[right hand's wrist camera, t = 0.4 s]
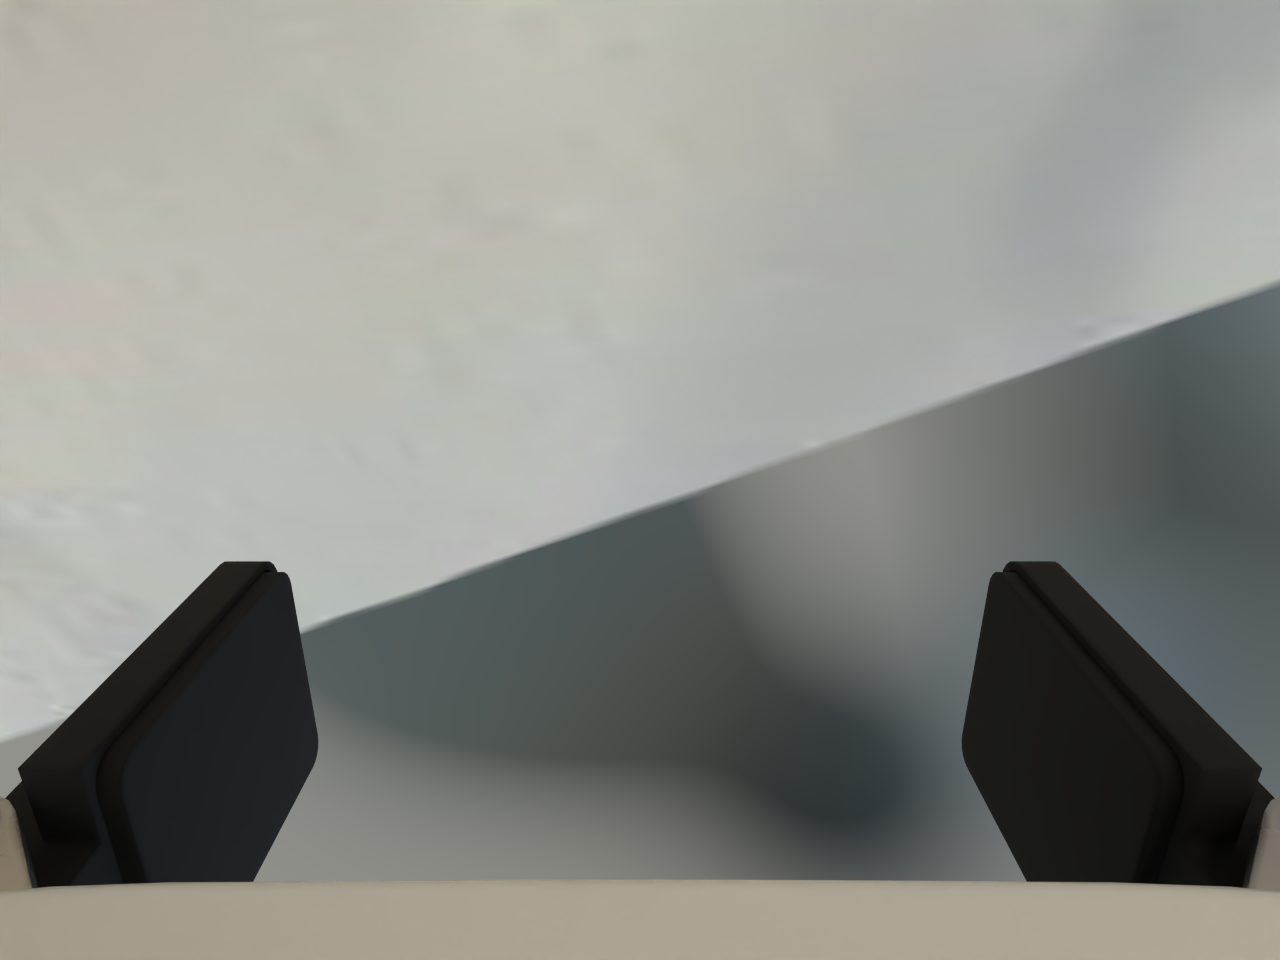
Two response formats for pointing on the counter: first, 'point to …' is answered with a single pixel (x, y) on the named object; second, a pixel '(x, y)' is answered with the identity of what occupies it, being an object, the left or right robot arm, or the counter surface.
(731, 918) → the right robot arm
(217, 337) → the counter surface
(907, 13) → the counter surface
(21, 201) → the counter surface
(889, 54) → the counter surface
